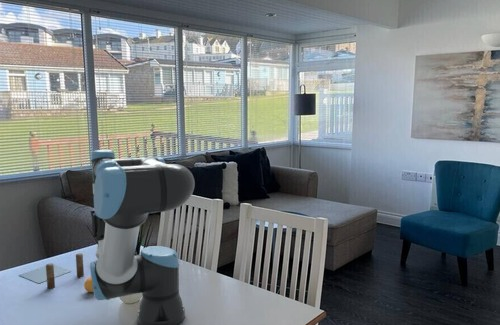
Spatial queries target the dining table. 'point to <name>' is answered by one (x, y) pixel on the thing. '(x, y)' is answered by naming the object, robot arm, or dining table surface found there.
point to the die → (97, 253)
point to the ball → (88, 285)
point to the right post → (79, 265)
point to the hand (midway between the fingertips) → (107, 258)
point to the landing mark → (43, 274)
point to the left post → (50, 276)
